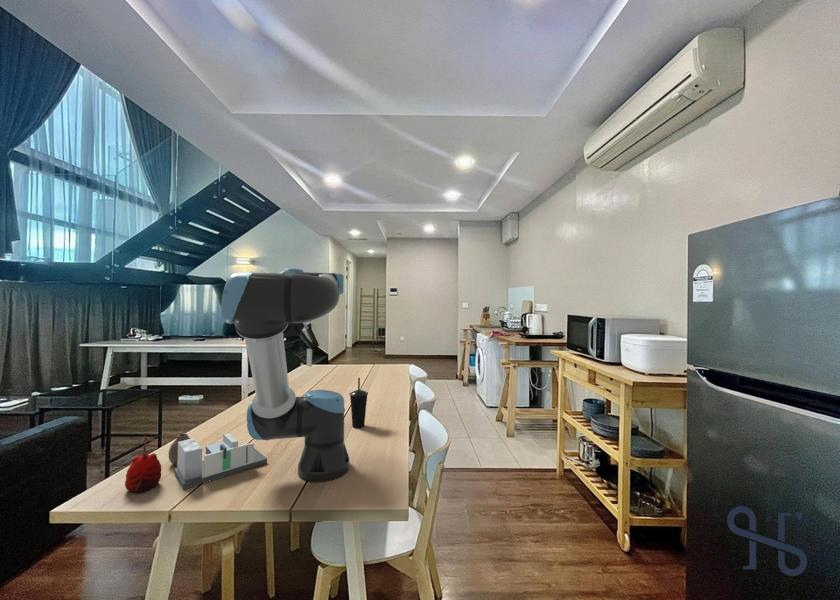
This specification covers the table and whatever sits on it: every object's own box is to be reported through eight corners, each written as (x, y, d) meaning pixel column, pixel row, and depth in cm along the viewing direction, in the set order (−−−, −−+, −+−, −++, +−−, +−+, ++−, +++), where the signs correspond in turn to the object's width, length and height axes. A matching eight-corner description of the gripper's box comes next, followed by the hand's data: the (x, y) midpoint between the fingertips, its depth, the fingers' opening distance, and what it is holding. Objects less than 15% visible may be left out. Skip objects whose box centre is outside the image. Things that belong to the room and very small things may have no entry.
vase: (190, 466, 104) (191, 437, 104) (164, 469, 102) (164, 440, 102) (198, 456, 111) (198, 429, 111) (173, 459, 109) (174, 432, 109)
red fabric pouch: (161, 478, 97) (162, 425, 97) (160, 489, 91) (162, 433, 91) (126, 486, 92) (127, 431, 92) (123, 498, 86) (124, 439, 87)
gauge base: (267, 463, 106) (267, 439, 106) (183, 489, 91) (183, 461, 91) (253, 451, 115) (253, 429, 115) (174, 473, 99) (175, 448, 99)
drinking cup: (370, 427, 139) (371, 378, 140) (353, 430, 135) (354, 380, 135) (363, 421, 146) (363, 375, 146) (346, 425, 141) (346, 377, 142)
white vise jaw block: (201, 476, 95) (202, 448, 95) (184, 482, 92) (185, 452, 92) (193, 464, 102) (194, 438, 102) (177, 469, 99) (177, 441, 99)
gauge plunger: (240, 467, 100) (240, 443, 100) (215, 475, 95) (215, 450, 95) (228, 454, 108) (228, 432, 108) (204, 461, 103) (205, 438, 104)
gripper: (318, 310, 136) (318, 363, 136) (253, 310, 119) (252, 371, 118) (328, 310, 131) (327, 365, 131) (261, 310, 114) (260, 374, 113)
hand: (291, 368), depth 125 cm, fingers open, 13 cm apart
